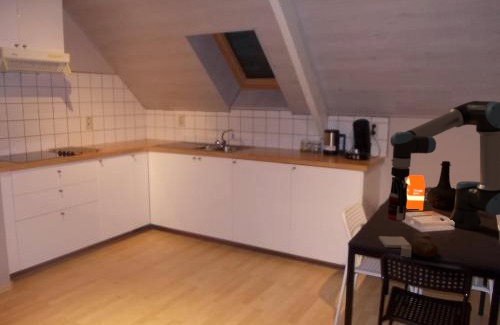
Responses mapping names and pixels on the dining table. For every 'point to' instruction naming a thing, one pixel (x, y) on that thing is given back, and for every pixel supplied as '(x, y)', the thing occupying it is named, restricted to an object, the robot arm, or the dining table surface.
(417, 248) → the bread roll
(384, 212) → the dining table surface
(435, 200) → the glass bottle
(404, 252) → the grey block
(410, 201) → the orange juice
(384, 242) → the plate
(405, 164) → the robot arm
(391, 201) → the canned food
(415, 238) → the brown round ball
